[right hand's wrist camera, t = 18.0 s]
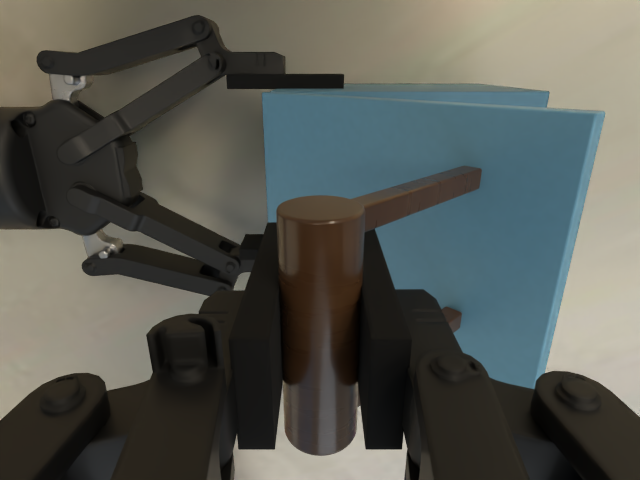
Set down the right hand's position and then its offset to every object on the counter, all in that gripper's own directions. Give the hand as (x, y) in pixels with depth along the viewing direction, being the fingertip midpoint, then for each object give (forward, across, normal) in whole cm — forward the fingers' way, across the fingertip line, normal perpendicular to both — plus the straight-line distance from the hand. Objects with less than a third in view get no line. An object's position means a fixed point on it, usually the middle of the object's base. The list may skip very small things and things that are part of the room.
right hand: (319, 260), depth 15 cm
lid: (+4, +3, 0) cm, 5 cm away
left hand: (+14, +1, 0) cm, 14 cm away
